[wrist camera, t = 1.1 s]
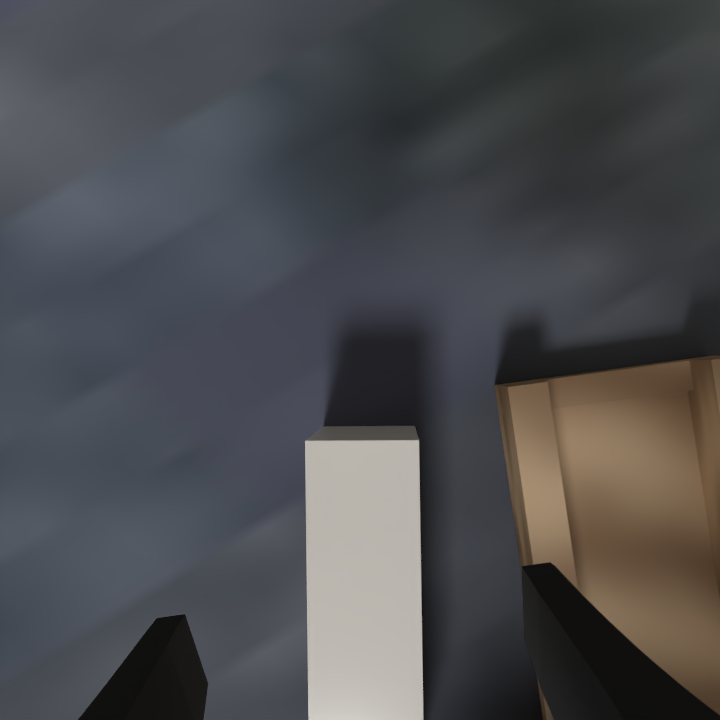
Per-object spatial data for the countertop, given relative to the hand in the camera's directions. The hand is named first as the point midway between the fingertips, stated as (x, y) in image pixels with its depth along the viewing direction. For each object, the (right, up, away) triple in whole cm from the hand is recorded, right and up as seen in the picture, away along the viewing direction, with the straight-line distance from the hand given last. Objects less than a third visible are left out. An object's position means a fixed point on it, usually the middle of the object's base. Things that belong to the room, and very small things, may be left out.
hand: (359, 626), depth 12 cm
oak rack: (+11, -3, +11) cm, 16 cm away
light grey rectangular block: (0, -4, +12) cm, 13 cm away
